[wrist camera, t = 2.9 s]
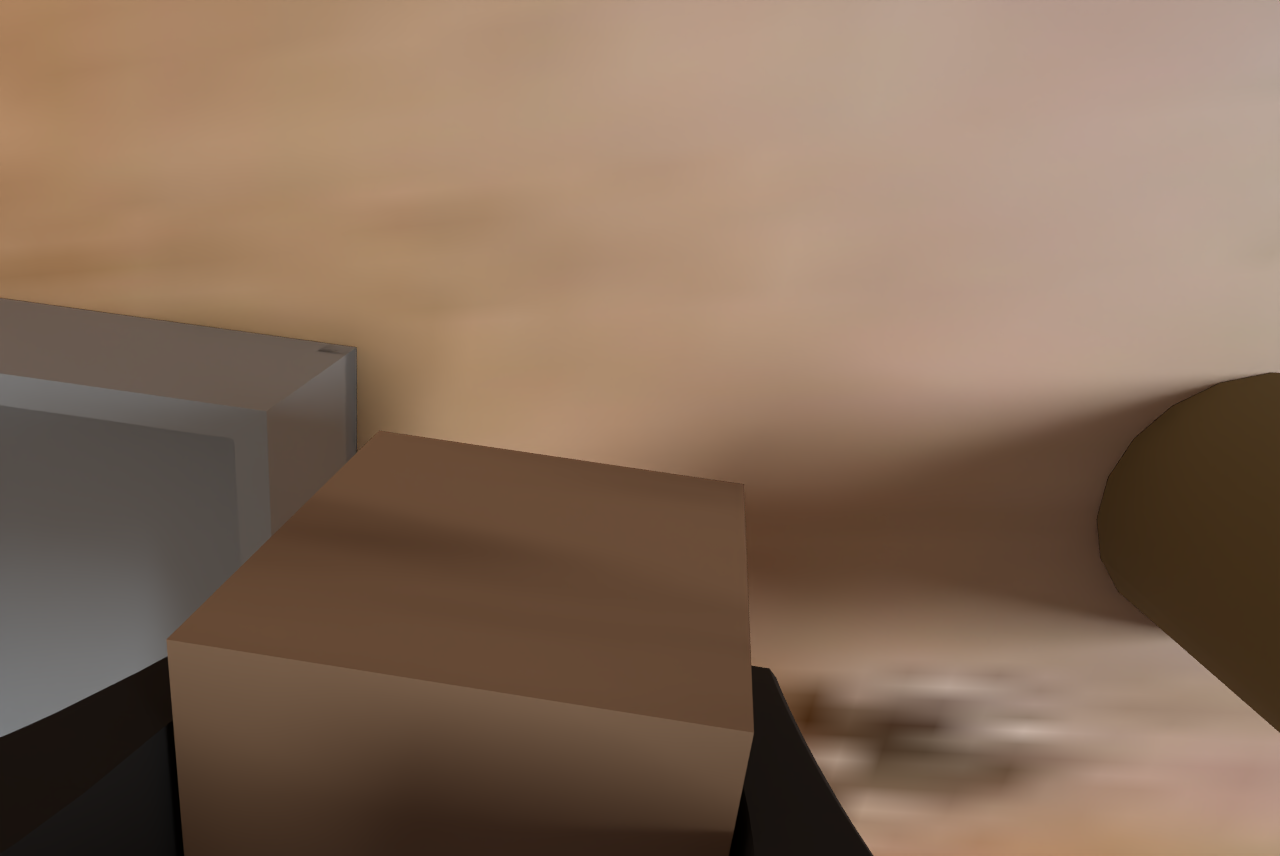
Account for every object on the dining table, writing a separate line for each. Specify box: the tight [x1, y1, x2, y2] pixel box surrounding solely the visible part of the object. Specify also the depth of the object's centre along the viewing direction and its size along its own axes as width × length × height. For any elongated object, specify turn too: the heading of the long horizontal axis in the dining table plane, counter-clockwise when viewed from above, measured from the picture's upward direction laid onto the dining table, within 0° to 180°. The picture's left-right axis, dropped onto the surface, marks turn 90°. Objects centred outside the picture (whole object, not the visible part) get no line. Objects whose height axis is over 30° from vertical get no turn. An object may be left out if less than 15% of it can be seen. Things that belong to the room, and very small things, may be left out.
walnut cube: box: [166, 431, 754, 856], centre depth 11 cm, size 5×5×5 cm
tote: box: [0, 298, 357, 737], centre depth 20 cm, size 16×13×4 cm
